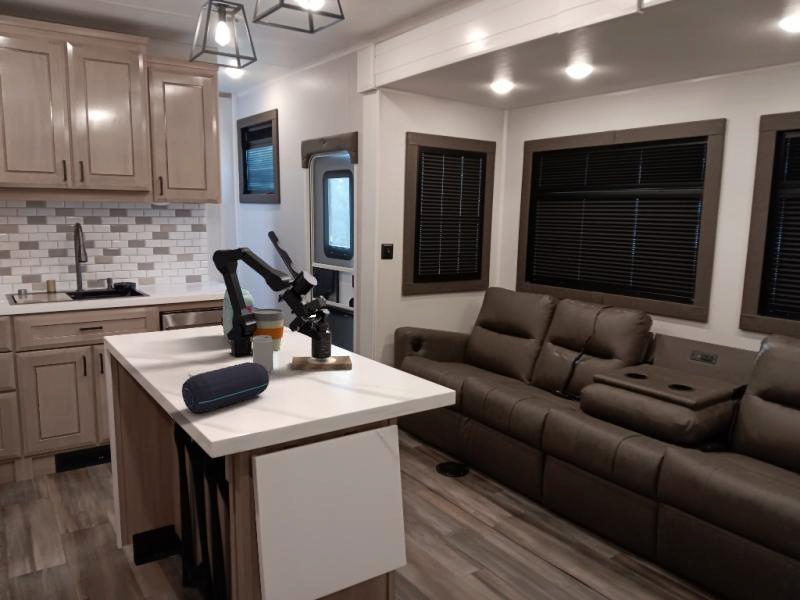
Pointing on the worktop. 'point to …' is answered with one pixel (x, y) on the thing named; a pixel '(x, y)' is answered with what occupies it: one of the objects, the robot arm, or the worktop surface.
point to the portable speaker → (224, 386)
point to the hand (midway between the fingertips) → (324, 338)
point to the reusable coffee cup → (270, 325)
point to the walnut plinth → (322, 363)
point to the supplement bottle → (321, 341)
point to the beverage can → (263, 351)
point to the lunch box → (228, 311)
